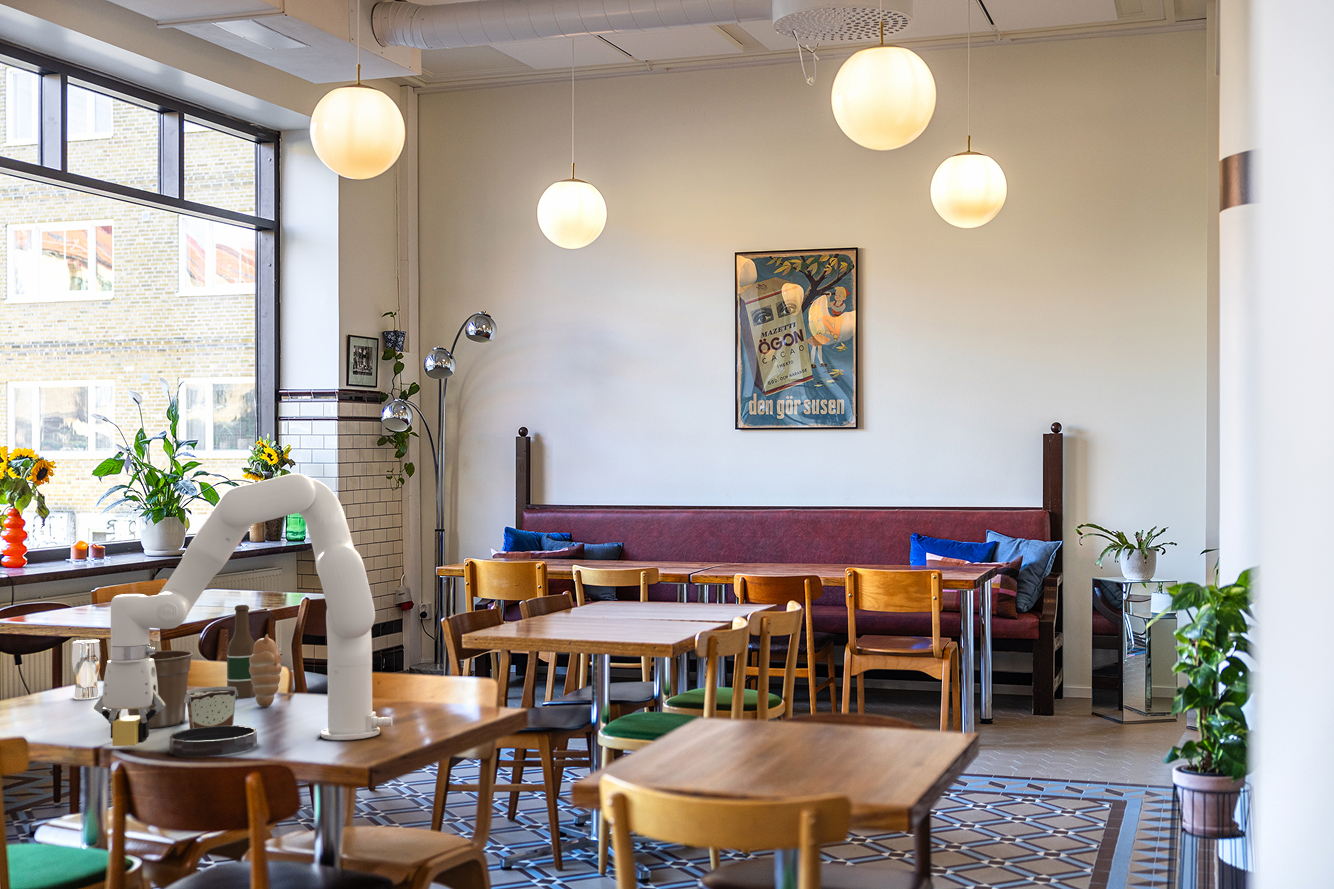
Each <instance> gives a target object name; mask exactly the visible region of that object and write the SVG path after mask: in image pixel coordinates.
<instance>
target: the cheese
mask: <svg viewBox="0 0 1334 889" xmlns="http://www.w3.org/2000/svg"><path fill="white" fill-rule="evenodd" d="M140 720H141V719H140V715H134V716H128V715H124V716H122V717H119V719H117V720H115V721H113V738H112V747H127V746H128V747H129V746H137V745H139V744H140V743H139V742H138V725H139V723H140Z"/></svg>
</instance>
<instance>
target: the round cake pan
mask: <svg viewBox="0 0 1334 889" xmlns="http://www.w3.org/2000/svg"><path fill="white" fill-rule="evenodd" d="M168 736H169V737H168V752H169V754H171V755H174V756H179V757H213V756H223V755H231V754H237V753H241V752H245V751H249V750H253V749H254V748H256V746H258V730H257V728H255V727H252V726H248V725H234V724H233V725H231V726H210V727H201V728H193V729H190V728H188V729H184V730H180V731H176V732H173V733H171V734H169V735H168Z"/></svg>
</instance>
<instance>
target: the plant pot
mask: <svg viewBox="0 0 1334 889" xmlns="http://www.w3.org/2000/svg"><path fill="white" fill-rule="evenodd" d="M193 656H194V652H193V651H188V650H156V654H152V655H150V657H149V659H154V663H155V668H156V674H157V684H158V695H159V696H160V697H161V699H162V700H163V701H164V703H165V704H166V706H165V707H164V708H163V709H162V710H160V711H159V712H158V713H157V714H156V715H155V716H154V717H153V718H152V719H151V720H150V721H149V729H155V728H160V729H161V728H167V727H171V726H176V725H179V724H180V723H184V722H185V721H186V708H187V703H184V699H185V695H186V693H187V691H188V683H189V672H190V670H191V663H192V657H193ZM155 706H156V704H154V705H151V706H150V707H149V710H151V709H153V708H154V707H155ZM134 715H139V711H138V709H127V716H134Z"/></svg>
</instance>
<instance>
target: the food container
mask: <svg viewBox="0 0 1334 889" xmlns="http://www.w3.org/2000/svg"><path fill="white" fill-rule="evenodd" d="M236 696H238V691H237V690H236V687H227V686H208V687H200V688H194V689H189V690H187V693H186V695H185V699H184V703H186V707H187V716H188V726H189V729H193V728H201V727H210V726H231V725H233V726H234V720H235V710H236V699H237V698H236Z"/></svg>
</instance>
